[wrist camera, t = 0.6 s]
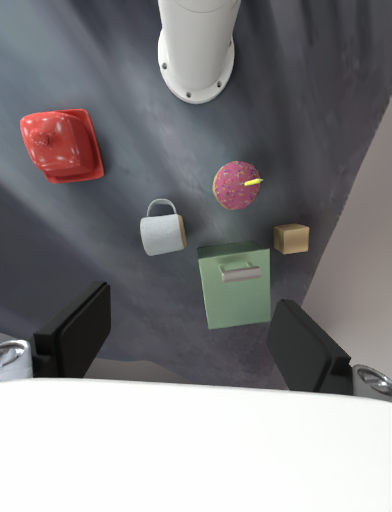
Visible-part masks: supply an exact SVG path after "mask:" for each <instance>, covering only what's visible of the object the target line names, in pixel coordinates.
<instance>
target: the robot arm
mask: <svg viewBox="0 0 392 512" xmlns="http://www.w3.org/2000/svg"><path fill="white" fill-rule="evenodd" d="M158 2H159V8H160V14H161V20H162V26H163V28H162V31H161V33H160V38H159V44H158V58H159V65H160V69H161V72H162V76H163V78H164V80H165V82H166V84H167V86H168V87H169V89H170V90H171V91H172V92H173V93H174V94H175V95H176V96H177V97H178V98H180V99H181V100H183V101H185V102H188V103H193V104H201V103H205V102H208V101H210V100H212V99H214V98H215V97H216V96H217V95H218V94H220V93H221V91H222V90H223V89H224V87H225V86H226V84H227V82H228V80H229V77H230V75H231V72H232V68H233V64H234V43H233V38H232V32H233V28H234V25H235V21H236V17H237V13H238V10H239V6H240V2H241V0H158ZM164 68H167V69H166V70H164ZM218 86H220V87H218ZM188 96H190V98H188ZM110 329H111V305H110V285H107V283H106V282H102V281H93V282H92V283H91V284H90V285H89V286H87V287H86V288H85V289H84V290H83V291H82V292H81V293H79V294H78V295H77V296H76V297H75V298H74V299H72V300H71V301H70V302H69V303H68V304H67V305H66V306H64V307H63V308H62V309H61V310H60V311H59V312H57V313H56V314H55V315H54V316H53V317H52V318H51V319H49V320H48V321H47V322H46V323H45V324H44V325H43V326H41V327H40V328H39V329H38V330H37V331H36V332H34V333H33V336H32V337H31V338H29V339H28V340H27V341H25V340H20V339H16V340H9V341H4V342H1V343H0V512H392V380H390V379H389V378H388V377H386V376H385V375H383V374H382V373H380V372H378V371H377V370H375V369H373V368H370V367H368V366H364V365H355V366H353V367H351V366H350V365H349V362H350V360H351V357H350V356H349V355H348V354H347V353H346V352H345V351H344V350H343V349H342V348H341V347H340V346H339V345H338V344H337V343H336V342H335V341H334V340H333V339H332V338H331V337H330V336H329V335H328V334H327V333H326V332H325V331H324V330H323V329H322V328H321V327H320V326H319V325H318V324H317V323H316V322H315V321H314V320H312V318H311V317H309V315H307V313H306V312H305V311H303V310H302V308H301V307H300V306H299V305H297V304H296V303H295V302H294V301H293V300H287V299H281V300H280V301H279V302H277V305H276V308H275V312H274V315H273V319H272V322H271V325H270V329H269V332H268V336H267V339H266V344H267V347H268V349H269V351H270V353H271V355H272V357H273V359H274V361H275V363H276V365H277V366H278V368H279V370H280V372H281V374H282V376H283V378H284V380H285V382H286V384H287V386H288V388H289V390H290V391H284V390H269V389H255V388H239V387H223V386H207V385H190V384H174V383H156V382H137V381H120V380H99V379H83V377H84V375H85V373H86V372H87V370H88V368H89V367H90V365H91V363H92V361H93V360H94V358H95V357H96V355H97V353H98V352H99V350H100V348H101V347H102V345H103V343H104V342H105V340H106V338H107V336H108V335H109V333H110Z"/></svg>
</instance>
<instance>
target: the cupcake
mask: <svg viewBox="0 0 392 512" xmlns="http://www.w3.org/2000/svg"><path fill="white" fill-rule="evenodd" d="M261 181H263V179H260V176H259V173H258V171H257V170H256V168H255V167H254V166H253V165H251V164H248V163H245V162H242V161H233V162H230V163H227V164H226V165H224V166H223V167H222V168H221V169H220V170H219V171H218V173H217V174H216V176H215V178H214V183H213V192H214V195H215V197H216V199H217V200H218V201H219V203H220V204H221V205H222V206H223V207H224V208H226V209H230V210H233V209H235V210H237V209H243V208H245V207H247V206H248V205H249V204H250V203H251V202H253V201H254V200H255V198H256V196H257V194H258V192H259V188H260V182H261Z"/></svg>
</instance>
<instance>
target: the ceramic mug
mask: <svg viewBox="0 0 392 512" xmlns="http://www.w3.org/2000/svg"><path fill="white" fill-rule="evenodd" d="M157 204H165V205H167V204H169V205H171V206H172V207H173V209H174V213H175V214H174V215H166V216H157V217H150V214H151V210H152V208H153V207H154V206H155V205H157ZM140 229H141V237H142V242H143V245H144V248H145V251H146V253H147V254H148V255H149V256H153V255H157V254H163V253H167V252H172V251H178V250H181V249H184V248H185V247H186V246H187V241H186V235H185V229H184V224H183V219H182V216H180V215H177V212H176V209H175V206H174V205H173V203H172V202H170V201H169V200H167V199H157V200H154V201H153V202H152V203H151V204H150V206H149V208H148V211H147V218H142V219H141V223H140Z"/></svg>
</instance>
